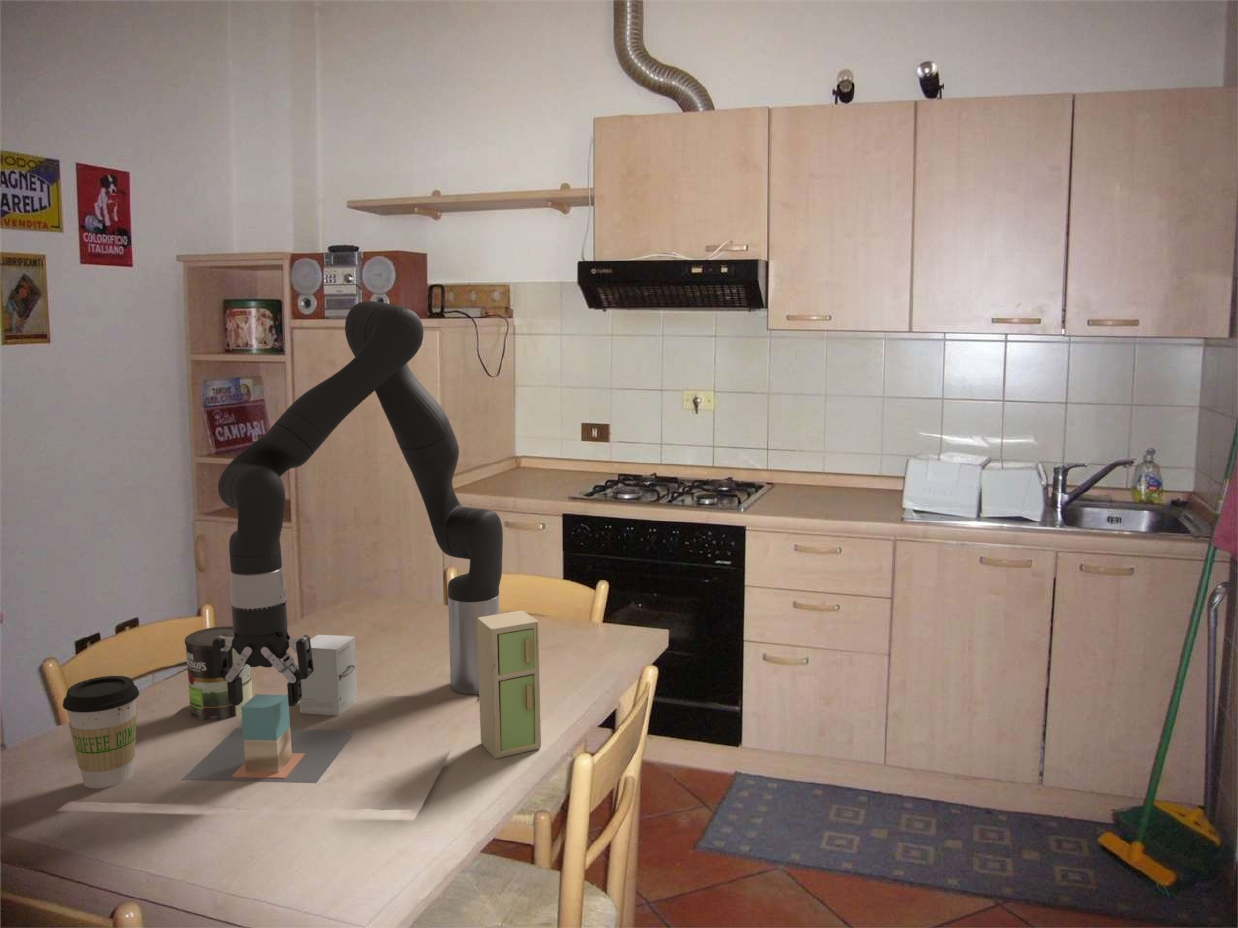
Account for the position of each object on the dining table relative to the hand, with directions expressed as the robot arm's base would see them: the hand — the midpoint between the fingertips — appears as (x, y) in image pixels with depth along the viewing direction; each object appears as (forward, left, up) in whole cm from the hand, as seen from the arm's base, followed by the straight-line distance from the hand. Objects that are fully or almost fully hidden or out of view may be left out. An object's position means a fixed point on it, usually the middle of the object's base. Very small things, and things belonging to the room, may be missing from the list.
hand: (265, 703), depth 147 cm
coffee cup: (+22, +5, -11) cm, 25 cm away
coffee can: (+17, -21, -11) cm, 29 cm away
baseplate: (+1, -4, -11) cm, 11 cm away
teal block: (0, 0, -4) cm, 4 cm away
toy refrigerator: (-35, -10, -11) cm, 38 cm away
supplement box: (-1, -23, -11) cm, 25 cm away
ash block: (0, 0, -9) cm, 9 cm away
